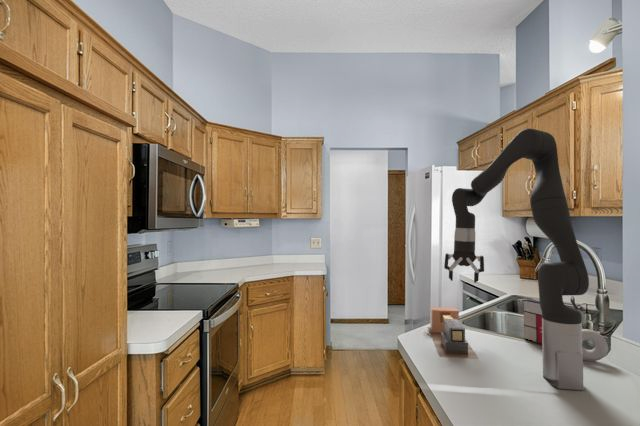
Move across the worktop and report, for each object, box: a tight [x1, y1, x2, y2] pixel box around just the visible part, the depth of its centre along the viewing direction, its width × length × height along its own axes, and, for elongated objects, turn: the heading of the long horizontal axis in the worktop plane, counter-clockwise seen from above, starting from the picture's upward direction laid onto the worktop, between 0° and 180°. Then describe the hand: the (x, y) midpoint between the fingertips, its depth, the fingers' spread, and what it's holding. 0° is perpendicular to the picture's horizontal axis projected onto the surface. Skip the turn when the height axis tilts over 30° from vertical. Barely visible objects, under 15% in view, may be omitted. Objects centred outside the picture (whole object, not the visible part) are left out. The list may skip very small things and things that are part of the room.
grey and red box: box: [523, 298, 542, 345], centre depth 134 cm, size 11×4×15 cm, turn 25°
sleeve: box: [441, 319, 469, 354], centre depth 125 cm, size 12×7×8 cm, turn 170°
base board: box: [427, 326, 480, 360], centre depth 132 cm, size 33×12×1 cm, turn 170°
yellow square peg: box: [443, 315, 462, 341], centre depth 129 cm, size 20×3×3 cm, turn 170°
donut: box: [582, 328, 609, 362], centre depth 116 cm, size 10×4×10 cm, turn 56°
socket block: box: [429, 306, 460, 333], centre depth 144 cm, size 5×10×9 cm, turn 80°
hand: (463, 281), depth 141 cm, fingers open, 8 cm apart
